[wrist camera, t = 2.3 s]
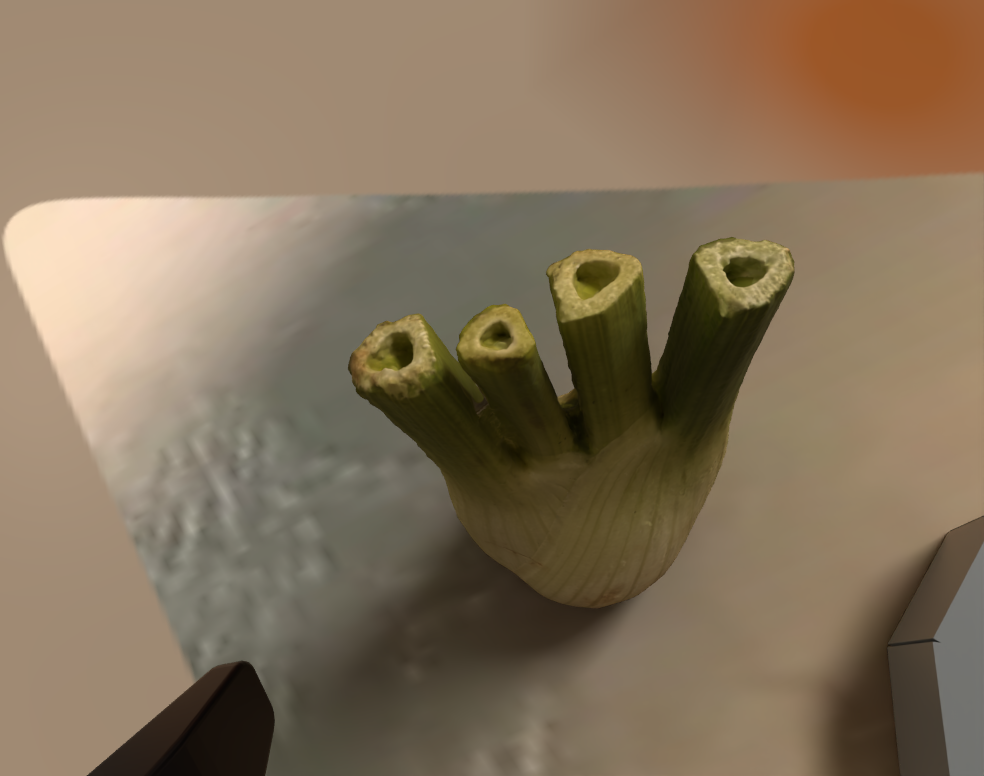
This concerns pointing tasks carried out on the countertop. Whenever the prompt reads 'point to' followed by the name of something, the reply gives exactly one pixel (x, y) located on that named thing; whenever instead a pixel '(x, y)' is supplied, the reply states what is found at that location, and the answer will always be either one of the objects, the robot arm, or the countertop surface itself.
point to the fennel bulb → (583, 415)
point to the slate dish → (942, 663)
